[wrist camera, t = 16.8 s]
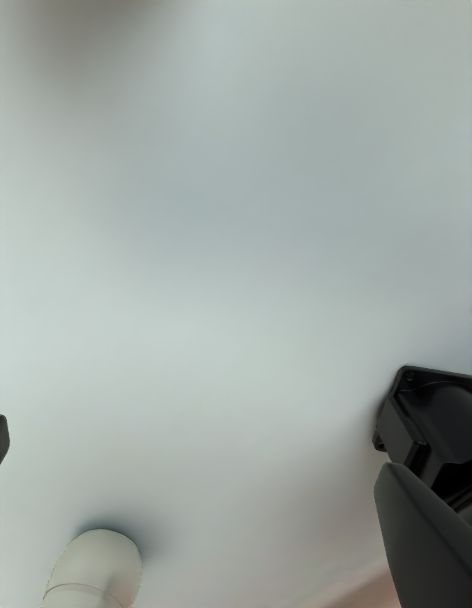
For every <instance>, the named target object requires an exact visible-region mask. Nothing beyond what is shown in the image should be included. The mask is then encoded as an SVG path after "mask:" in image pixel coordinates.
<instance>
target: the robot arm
mask: <svg viewBox="0 0 472 608" xmlns="http://www.w3.org/2000/svg"><path fill="white" fill-rule="evenodd" d="M408 373H411V375H409V376H406V375H407V374H408ZM376 429H377V430H376V433H375V435H374V438H373V441H372V442H373V445H374V447H375V449H376V450H378V451H382V452H387V453H388V455H389V457H390V459H391V461H392V462H386V463H384V464H383V466H382V468H381V471H380V473H379V475H378V478H377V480H376V483H375V486H374V498H375V503H376V507H377V512H378V517H379V522H380V527H381V531H382V536H383V541H384V546H385V550H386V555H387V559H388V564H389V568H390V571H391V575H392V578H393V581H394V585H395V588H396V591H397V594H398V598H399V601H400V604H401V607H402V608H472V376H470V375H464V374H458V373H452V372H446V371H440V370H434V369H428V368H422V367H415V366H404V367H403V368H401V370H400V371H399V374H398V376H397V379H396V381H395V384H394V386H393V389H392V392H391V394H390V395H389V396H388V397H387V399H386V401H385V404H384V407H383V409H382V412H381V414H380V417H379V420H378V422H377V425H376ZM381 442H383V443H382V444H379V443H381ZM9 445H10V438H9V432H8V425H7V419H6V417H5V416H4V415H1V414H0V464H1V462H2V461H3V459H4V457H5V455H6V454H7V452H8V449H9Z"/></svg>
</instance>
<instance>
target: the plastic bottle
mask: <svg viewBox="0 0 472 608" xmlns="http://www.w3.org/2000/svg"><path fill="white" fill-rule="evenodd" d="M141 574H142V561H141V557H140V553H139V550H138V548H137V547H136V545H135V544H134V543H133V542H132V541H131V540H130V539H128V538H127V537H125V536H124V535H122V534H119V533H117V532H114V531H110V530H103V529H96V530H90V531H87V532H85V533H83V534H81V535H80V536H78V537H77V538H75V539H74V540H72V541H71V542H70V543H69V544H68V546H67V547H66V549H65V550H64V551H63V553H62V554H61V556H60V557H59V559H58V560H57V562H56V564H55V566H54V568H53V571H52V574H51V576H50V579H49V581H48V584H47V587H46V590H45V594H44V597H43V602H42V604H41V607H40V608H132V606H133V603H134V601H135V598H136V596H137V593H138V591H139V587H140V581H141Z"/></svg>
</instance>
